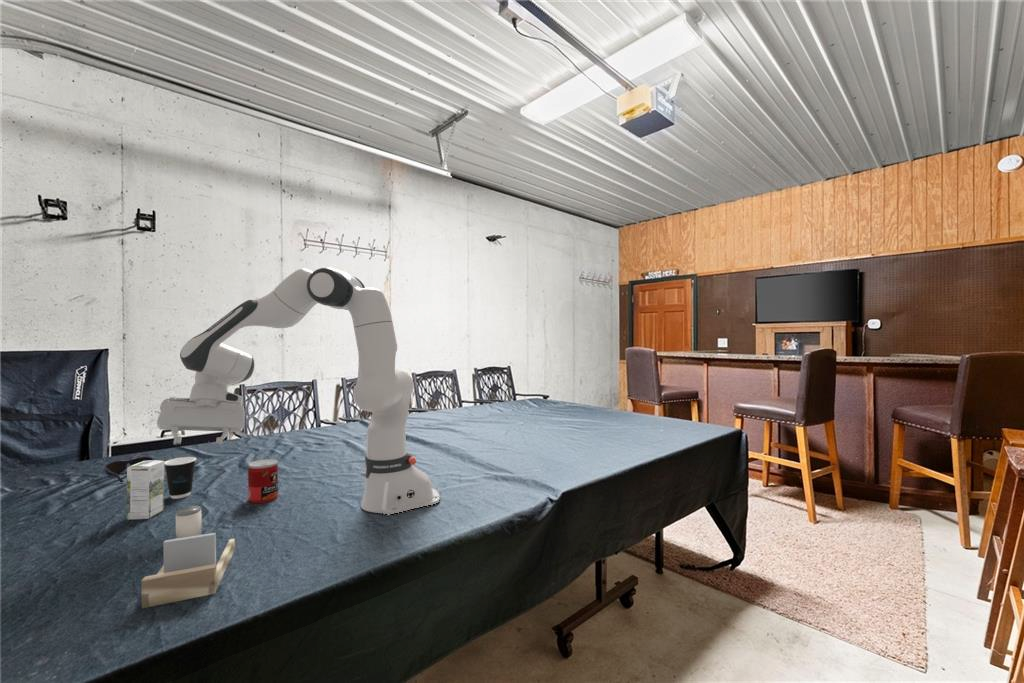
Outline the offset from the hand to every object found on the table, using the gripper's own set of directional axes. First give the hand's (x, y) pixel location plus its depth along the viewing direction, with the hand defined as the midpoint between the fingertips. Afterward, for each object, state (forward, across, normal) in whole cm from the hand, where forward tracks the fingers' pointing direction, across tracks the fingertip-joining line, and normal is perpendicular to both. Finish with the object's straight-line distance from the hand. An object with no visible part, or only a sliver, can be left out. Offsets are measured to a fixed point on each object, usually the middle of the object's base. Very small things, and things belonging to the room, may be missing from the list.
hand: (198, 444), depth 117 cm
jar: (+25, +2, -2) cm, 25 cm away
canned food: (+12, +18, +13) cm, 25 cm away
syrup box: (+14, -9, +18) cm, 24 cm away
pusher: (+38, +5, -21) cm, 43 cm away
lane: (+37, +5, -19) cm, 42 cm away
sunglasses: (-12, -20, +58) cm, 62 cm away
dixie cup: (+5, -3, +28) cm, 29 cm away
